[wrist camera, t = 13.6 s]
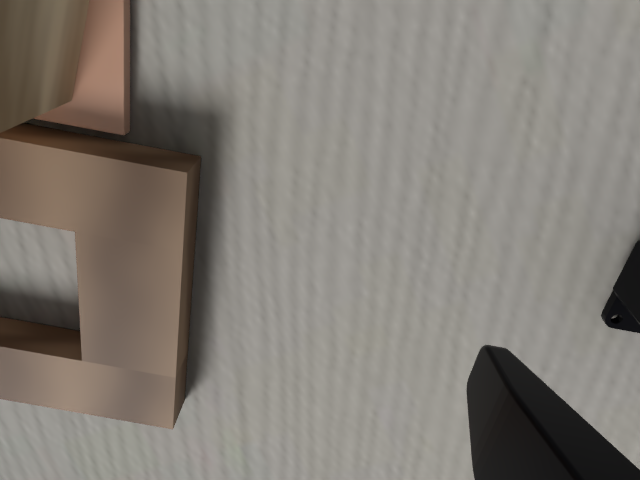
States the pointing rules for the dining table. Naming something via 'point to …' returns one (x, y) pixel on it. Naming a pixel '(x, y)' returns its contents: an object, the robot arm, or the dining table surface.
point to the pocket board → (105, 273)
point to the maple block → (38, 56)
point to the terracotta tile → (101, 72)
